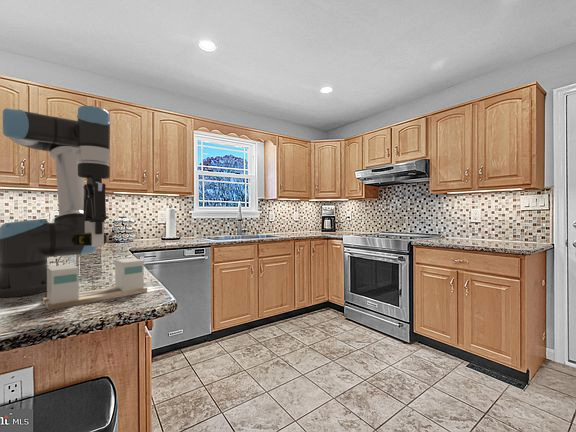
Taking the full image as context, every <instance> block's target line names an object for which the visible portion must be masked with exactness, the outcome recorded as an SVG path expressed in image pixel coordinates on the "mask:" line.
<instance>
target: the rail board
mask: <svg viewBox="0 0 576 432" xmlns="http://www.w3.org/2000/svg"><path fill="white" fill-rule="evenodd" d="M147 292H148V288H147V286H144V288H141V289H135V290H130V291H124V292H123V291H121V289H120V288H118V287H117V288H116V287H115V285H114V286H109V287H103V288H97V289H92V290H91V289H90V290H84V291H79V299H78V300H73V301H67V302H61V303H56V304H51V303H50V300H49V299H47V296H46V297H43V298H42V303H43V304H44V306H45V308H46V309H47V310H48V311H51V310H57V309H58V310H59V309H63V308H68V307H72V306H78V305H83V304H89V303H94V302H101V301H105V300H109V299H117V298H122V297H126V296H132V295H138V294H142V293H147Z"/></svg>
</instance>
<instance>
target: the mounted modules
mask: <svg viewBox="0 0 576 432" xmlns="http://www.w3.org/2000/svg"><path fill="white" fill-rule="evenodd" d="M114 261H115V262H114V264H115V265H114V267H115V268H114V269H115V270H114V273H115V275H114V286H115V287H116V288H117V287H118V288H120V289H121V291H123V292H124V291H130V290H135V289H141V288H144V287H145V286H144V283H145V280H144V279H145V278H144V275H145V274H144V261H145V260H143V259H140V258H136V257H133V258H131V257H130V258H122V259H121V258H119V259H115V260H114ZM79 271H80V269H79V267H78V266H77V265H75V264H73V263H72V264H71V263H70V264H64V265H63V264H61V265H52V266H48V267H47V291H46V297H47V299H49V300H50V303H51V304H56V303H61V302H67V301H73V300H78V299H79V292H80V288H79V287H80V285H79V283H80V279H79V276H80V273H79Z"/></svg>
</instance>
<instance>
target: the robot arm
mask: <svg viewBox="0 0 576 432" xmlns="http://www.w3.org/2000/svg"><path fill="white" fill-rule="evenodd" d="M76 118H77V120H76V119H75V120H74V119H69V118H64V117H58V116H52V115H45V114H41V113H37V112H30V111H25V110H22V109H13V108H8V107H7V108H4V109H3V110H2V134H3V135H4V136H5V137H7V138H8V139H10V140H11V141H12V142H13V143H16V144H18V145H20V146H23V147H26V148H29V149H31V150H37V151H44V152H49V156H50V157H51V158H52V159H53V160H55V173H56V174H55V177H56V187H57V190H56V191H57V204H58V215H57V216H55V217H54V219H53V222H49V221H48V220H47V218H40V219H39V218H38V219H29V220H20V221H19V220H18V221H11V222H6V223H4V224H2V225H0V298H15V297H24V296H29V295H34V294H40V293H44V292H47V267H49V266H48V258H52V257H63V256H64V257H67V256H68V257H69V256H78V255H79V256H82V255H87V254H93V253H94V252H95V251H96V250H97V248H98V247H104V246H105V244H104V233H105V221H106V220H107V206H106V205H107V203H106V201H107V200H106V187H107V185H106V183H103V182H102V180H108V179H110V176H111V173H110V171H111V167H110V166H109V165H110V163H111V149H110V146H111V145H110V143H111V142H110V141H111V140H110V137H111V132H110V131H111V130H110V129H111V119H110V113H109V112H108V111H107V110H106V109H105V108H102V107H98V106H93V105H82V106H79V107H78V108H77V115H76ZM85 179H86V183H85ZM84 233H92V246H91V245H90V246H87V245H74V243H73V242H72V240H71V239H73V236H74V235H77V234H84Z"/></svg>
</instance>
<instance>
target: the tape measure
mask: <svg viewBox="0 0 576 432" xmlns="http://www.w3.org/2000/svg"><path fill="white" fill-rule="evenodd" d="M71 240H72V242H73V243H74V245H87V246H90V245H91V246H92V233H84V234H77V235H74V236H73V239H71ZM107 242H108V235H107V233H106V232H104V245H105V244H106V243H107Z"/></svg>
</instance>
